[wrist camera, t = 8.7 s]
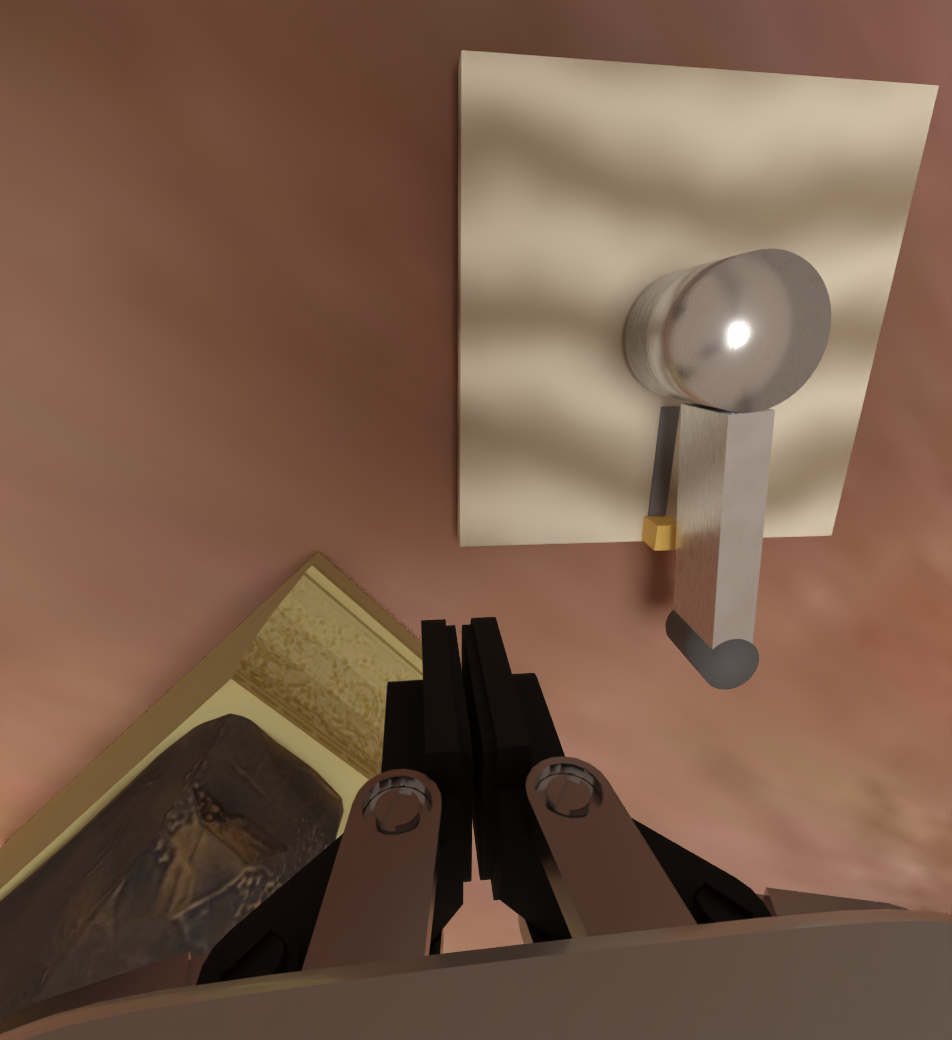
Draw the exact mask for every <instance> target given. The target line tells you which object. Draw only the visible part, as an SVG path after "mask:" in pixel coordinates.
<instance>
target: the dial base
mask: <svg viewBox="0 0 952 1040" xmlns="http://www.w3.org/2000/svg"><path fill="white" fill-rule="evenodd" d="M938 87H939V86H937V85H924V84H910V83H897V82H883V81H870V80H856V79H843V78H829V77H816V76H802V75H789V74H775V73H762V72H749V71H735V70H722V69H708V68H695V67H681V66H668V65H654V64H641V63H627V62H614V61H600V60H587V59H573V58H560V57H546V56H533V55H520V54H506V53H493V52H479V51H466V50H461V55H460V61H459V67H458V541H459V545H460V547H464V546H497V545H530V544H564V543H597V542H630V541H644V542H645V543H646V544H647V545H648V546H650V547H651V548H652V549H653V550H654V551H661V550H676V526H677V500H678V475H679V449H680V423H681V404H685V403H692V402H687V401H683V400H678V399H674V398H669V397H665V396H661V395H658V394H656V393H654V392H652V391H650V390H649V389H647V388H646V387H645V386H644V385H642V384H641V383H640V382H639V380H638V379H637V378H636V377H635V375H634V373H633V372H632V370H631V368H630V366H629V363H628V360H627V356H626V350H625V333H626V327H627V323H628V319H629V316H630V314H631V311H632V309H633V307H634V305H635V304H636V302H637V300H638V299H639V297H640V296H641V295H642V293H643V292H644V291H645V290H646V289H647V288H648V287H649V286H650V285H651V284H653V283H654V282H655V281H656V280H658V279H659V278H661V277H663V276H664V275H667V274H669V273H671V272H674V271H678V270H681V269H685V268H689V267H693V266H697V265H700V264H704V263H708V262H712V261H716V260H720V259H724V258H727V257H731V256H735V255H739V254H743V253H747V252H751V251H754V250H760V249H781V250H786V251H789V252H792V253H795V254H797V255H799V256H800V257H802V258H804V259H805V260H806V261H808V262H809V263H810V264H811V265H812V266H813V267H814V268H815V269H816V270H817V272H818V273H819V275H820V276H821V278H822V279H823V281H824V284H825V286H826V288H827V291H828V294H829V298H830V304H831V329H830V335H829V339H828V343H827V346H826V349H825V352H824V354H823V357H822V359H821V361H820V363H819V364H818V366H817V368H816V370H815V371H814V373H813V374H812V375H811V377H810V378H809V379H808V380H807V382H806V383H805V384H804V385H803V386H802V387H801V388H800V389H799V390H798V391H797V392H796V393H795V394H793V395H792V396H791V397H789V398H788V399H786V400H785V401H783V402H782V403H780V404H778V405H776V406H774V407H771V408H769V409H773V410H775V416H774V427H773V437H772V447H771V458H770V468H769V479H768V489H767V499H766V510H765V520H764V530H763V537H796V536H830V535H832V531H833V527H834V522H835V518H836V514H837V510H838V506H839V502H840V497H841V493H842V489H843V485H844V481H845V476H846V472H847V468H848V464H849V460H850V456H851V451H852V447H853V443H854V439H855V435H856V430H857V426H858V422H859V418H860V414H861V410H862V405H863V401H864V397H865V393H866V389H867V384H868V380H869V376H870V372H871V368H872V363H873V359H874V355H875V351H876V347H877V343H878V338H879V334H880V330H881V326H882V322H883V317H884V313H885V309H886V305H887V301H888V297H889V292H890V288H891V284H892V280H893V276H894V271H895V267H896V263H897V259H898V255H899V251H900V246H901V242H902V238H903V234H904V230H905V225H906V221H907V217H908V213H909V209H910V204H911V200H912V196H913V192H914V188H915V184H916V179H917V175H918V171H919V167H920V163H921V158H922V154H923V150H924V146H925V142H926V138H927V133H928V129H929V125H930V121H931V117H932V112H933V108H934V104H935V100H936V96H937V92H938Z"/></svg>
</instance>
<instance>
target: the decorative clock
mask: <svg viewBox="0 0 952 1040" xmlns="http://www.w3.org/2000/svg"><path fill="white" fill-rule="evenodd" d="M407 680H423V665H422V643H421V642H420V641H419V640H418V639H417V638H416V637H415V636H413V635H412V634H411V633H410V632H409V631H408V630H407V629H405V628H404V627H403V626H402V625H401V624H400V623H399V622H397V621H396V620H395V619H394V618H393V617H392V616H391V615H390V614H388V613H387V612H386V611H385V610H384V609H383V608H382V607H380V606H379V605H378V604H377V603H376V602H375V601H374V600H372V599H371V598H370V597H369V596H368V595H367V594H366V593H364V592H363V591H362V590H361V589H360V588H359V587H358V586H357V585H355V584H354V583H353V582H352V581H351V580H350V579H349V578H347V577H346V576H345V575H344V574H343V573H342V572H341V571H339V570H338V569H337V568H336V567H335V566H334V565H333V564H331V563H330V562H329V561H328V560H327V559H326V558H325V557H324V556H322V555H321V554H320V553H319V552H318V553H316V554H315V555H314V556H313V557H312V558H311V559H310V560H309V561H308V562H307V563H306V564H305V565H304V566H302V567H301V568H300V569H299V570H298V571H297V572H296V573H295V574H294V575H293V576H292V577H291V578H290V579H288V580H287V581H286V582H285V583H284V584H283V585H282V586H281V587H280V588H279V589H278V590H277V591H276V592H274V593H273V594H272V595H271V596H270V597H269V598H268V599H267V600H266V601H265V602H264V603H263V604H262V605H260V606H259V607H258V608H257V609H256V610H255V611H254V612H253V613H252V614H251V615H250V616H249V617H248V618H246V619H245V620H244V621H243V622H242V623H241V624H240V625H239V626H238V627H237V628H236V629H235V630H234V631H233V632H231V633H230V634H229V635H228V636H227V637H226V638H225V639H224V640H223V641H222V642H221V643H220V644H219V645H217V646H216V647H215V648H214V649H213V650H212V651H211V652H210V653H209V654H208V655H207V656H206V657H205V658H203V659H202V660H201V661H200V662H199V663H198V664H197V665H196V666H195V667H194V668H193V669H192V670H191V671H189V672H188V673H187V674H186V675H185V676H184V677H183V678H182V679H181V680H180V681H179V682H178V683H177V684H175V685H174V686H173V687H172V688H171V689H170V690H169V691H168V692H167V693H166V694H165V695H164V696H163V697H161V698H160V699H159V700H158V701H157V702H156V703H155V704H154V705H153V706H152V707H151V708H150V709H149V710H147V711H146V712H145V713H144V714H143V715H142V716H141V717H140V718H139V719H138V720H137V721H136V722H135V723H133V724H132V725H131V726H130V727H129V728H128V729H127V730H126V731H125V732H124V733H123V734H122V735H121V736H120V737H118V738H117V739H116V740H115V741H114V742H113V743H112V744H111V745H110V746H109V747H108V748H107V749H106V750H104V751H103V752H102V753H101V754H100V755H99V756H98V757H97V758H96V759H95V760H94V761H93V762H92V763H90V764H89V765H88V766H87V767H86V768H85V769H84V770H83V771H82V772H81V773H80V774H79V775H78V776H76V777H75V778H74V779H73V780H72V781H71V782H70V783H69V784H68V785H67V786H66V787H65V788H64V789H62V790H61V791H60V792H59V793H58V794H57V795H56V796H55V797H54V798H53V799H52V800H51V801H50V802H48V803H47V804H46V805H45V806H44V807H43V808H42V809H41V810H40V811H39V812H38V813H37V814H36V815H34V816H33V817H32V818H31V819H30V820H29V821H28V822H27V823H26V824H25V825H24V826H23V827H22V828H21V829H19V830H18V831H17V832H16V833H15V834H14V835H13V836H12V837H11V838H10V839H9V840H8V841H7V842H5V843H4V845H3V846H2V847H1V848H0V1024H1V1023H2V1022H3V1021H5V1020H6V1019H7V1018H8V1017H10V1016H11V1015H12V1014H14V1013H16V1012H18V1011H20V1010H22V1009H24V1008H26V1007H28V1006H30V1005H32V1004H34V1003H36V1002H39V1001H42V1000H45V999H48V998H51V997H54V996H57V995H60V994H63V993H66V992H69V991H72V990H75V989H78V988H81V987H84V986H87V985H90V984H93V983H96V982H99V981H102V980H105V979H108V978H111V977H113V976H116V975H119V974H122V973H125V972H128V971H131V970H134V969H137V968H140V967H143V966H146V965H149V964H152V963H155V962H158V961H161V960H164V959H167V958H170V957H173V956H176V955H179V954H182V953H185V952H188V951H189V952H190V956H191V959H193V958H196V957H199V956H202V955H204V954H207V953H210V952H211V950H212V949H213V947H214V946H215V945H216V944H217V943H218V942H219V941H220V940H221V939H222V938H223V937H224V936H225V935H226V934H227V933H228V932H229V931H230V930H231V929H232V928H233V927H234V926H236V925H237V924H238V923H239V922H240V921H241V920H243V919H244V918H245V917H246V916H247V915H248V914H250V913H251V912H252V911H253V910H254V909H255V908H257V907H258V906H259V905H260V904H261V903H262V902H264V901H265V900H266V899H267V898H268V897H269V896H271V895H272V894H273V893H274V892H275V891H276V890H278V889H279V888H280V887H281V886H282V885H283V884H285V883H286V882H287V881H288V880H289V879H290V878H292V877H293V876H294V875H295V874H296V873H297V872H299V871H300V870H301V869H302V868H303V867H304V866H306V865H307V864H308V863H309V862H310V861H311V860H313V859H314V858H315V857H316V856H317V855H318V854H320V853H321V852H322V851H323V850H324V849H325V848H327V847H328V846H329V845H330V844H331V843H332V842H334V841H335V840H336V839H337V838H338V837H339V836H340V835H342V834H343V833H344V829H345V826H346V823H347V819H348V816H349V813H350V810H351V806H352V803H353V800H354V798H355V796H356V794H357V792H358V790H359V789H360V788H361V787H362V786H363V785H364V784H365V783H366V782H367V781H368V780H370V779H372V778H373V777H375V776H376V775H378V774H380V773H381V766H382V751H383V737H384V722H385V708H386V693H387V683H388V682H390V681H407Z"/></svg>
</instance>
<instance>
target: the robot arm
mask: <svg viewBox="0 0 952 1040" xmlns="http://www.w3.org/2000/svg"><path fill="white" fill-rule="evenodd" d="M421 628H422V665H423V680H407V681H390V682H388V683H387V693H386V708H385V722H384V737H383V751H382V766H381V773H380V774H378V775H376V776H375V777H373V778H372V779H370V780H368V781H367V782H366V783H365V784H364V785H363V786H362V787H361V788H360V789H359V790H358V792H357V794H356V796H355V798H354V800H353V803H352V806H351V810H350V813H349V816H348V819H347V823H346V826H345V829H344V833H343V834H342V835H340V836H339V837H338V838H337V839H336V840H335V841H334V842H332V843H331V844H330V845H329V846H328V847H327V848H325V849H324V850H323V851H322V852H321V853H320V854H318V855H317V856H316V857H315V858H314V859H313V860H311V861H310V862H309V863H308V864H307V865H306V866H304V867H303V868H302V869H301V870H300V871H299V872H297V873H296V874H295V875H294V876H293V877H292V878H290V879H289V880H288V881H287V882H286V883H285V884H283V885H282V886H281V887H280V888H279V889H278V890H276V891H275V892H274V893H273V894H272V895H271V896H269V897H268V898H267V899H266V900H265V901H264V902H262V903H261V904H260V905H259V906H258V907H257V908H255V909H254V910H253V911H252V912H251V913H250V914H248V915H247V916H246V917H245V918H244V919H243V920H241V921H240V922H239V923H238V924H237V925H236V926H234V927H233V928H232V929H231V930H230V931H229V932H228V933H227V934H226V935H225V936H224V937H223V938H222V939H221V940H220V941H219V942H218V943H217V944H216V945H215V946H214V947H213V949H212V950H211V952H210V953H207V954H204V955H202V956H199V957H196V958H193V959H191V956H190V952H189V951H188V952H185V953H182V954H179V955H176V956H173V957H170V958H167V959H164V960H161V961H158V962H155V963H152V964H149V965H146V966H143V967H140V968H137V969H134V970H131V971H128V972H125V973H122V974H119V975H116V976H113V977H111V978H108V979H105V980H102V981H99V982H96V983H93V984H90V985H87V986H84V987H81V988H78V989H75V990H72V991H69V992H66V993H63V994H60V995H57V996H54V997H51V998H48V999H45V1000H42V1001H39V1002H36V1003H34V1004H32V1005H30V1006H28V1007H26V1008H24V1009H22V1010H20V1011H18V1012H16V1013H14V1014H12V1015H11V1016H10V1017H8V1018H7V1019H6V1020H5V1021H3V1022H2V1023H1V1024H0V1040H952V915H949V914H943V913H936V912H929V911H912V910H908V909H906V908H903V907H899V906H896V905H892V904H889V903H882V902H875V901H867V900H859V899H851V898H844V897H836V896H828V895H821V894H813V893H805V892H797V891H790V890H782V889H774V888H767V887H766V890H765V893H764V895H760V894H755V893H754V892H753V890H752V889H751V888H749V887H748V886H746V885H745V884H744V883H742V882H741V881H739V880H738V879H737V878H735V877H733V876H732V875H730V874H728V873H726V872H725V871H723V870H721V869H719V868H718V867H716V866H714V865H712V864H711V863H709V862H707V861H706V860H704V859H702V858H700V857H699V856H697V855H695V854H693V853H692V852H690V851H688V850H686V849H685V848H683V847H681V846H679V845H678V844H676V843H674V842H672V841H671V840H669V839H667V838H665V837H664V836H662V835H660V834H658V833H657V832H655V831H653V830H651V829H650V828H648V827H646V826H645V825H643V824H641V823H639V822H638V821H636V820H634V819H632V818H631V817H630V815H629V814H628V812H627V810H626V809H625V807H624V806H623V804H622V802H621V801H620V799H619V798H618V796H617V794H616V793H615V791H614V790H613V788H612V786H611V785H610V783H609V782H608V780H607V779H606V778H605V777H604V775H603V774H602V773H601V772H600V771H599V770H598V769H596V768H595V767H594V766H592V765H591V764H589V763H587V762H584V761H582V760H580V759H577V758H571V757H565V755H564V752H563V749H562V747H561V744H560V741H559V738H558V735H557V733H556V730H555V727H554V724H553V721H552V718H551V716H550V713H549V710H548V707H547V704H546V702H545V699H544V696H543V693H542V690H541V688H540V685H539V682H538V679H537V677H536V675H535V674H534V673H524V674H512V673H511V669H510V666H509V662H508V659H507V655H506V652H505V648H504V645H503V641H502V638H501V634H500V631H499V628H498V624H497V621H496V618H495V617H484V618H471V625H462V671H461V664H460V657H459V650H458V643H457V636H456V629H455V625H451V626H446V621H445V619H443V620H422V621H421ZM472 820H473V828H474V836H475V844H476V852H477V860H478V868H479V876H480V880H489V879H491V885H492V892H493V899H494V900H501V901H502V902H503V903H505V904H506V905H507V906H509V907H510V908H511V909H512V910H514V911H515V912H516V913H517V914H518V921H519V927H520V932H521V936H522V939H523V942H524V944H522V945H513V946H505V947H496V948H488V949H479V950H471V951H462V952H453V953H445V954H442V953H443V942H444V933H443V928H444V927H445V925H446V924H447V923H448V922H449V921H450V919H451V918H452V917H453V916H454V914H455V913H456V912H457V911H458V909H459V908H460V907H461V906H462V905H463V882H469V881H471V872H472Z"/></svg>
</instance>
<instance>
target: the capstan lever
mask: <svg viewBox="0 0 952 1040" xmlns="http://www.w3.org/2000/svg"><path fill="white" fill-rule="evenodd" d="M830 329H831V304H830V298H829V294H828V291H827V288H826V286H825V284H824V281H823V279H822V278H821V276H820V275H819V273H818V272H817V270H816V269H815V268H814V267H813V266H812V265H811V264H810V263H809V262H808V261H806V260H805V259H804V258H802V257H800V256H799V255H797V254H795V253H792V252H789V251H786V250H781V249H760V250H754V251H751V252H747V253H743V254H739V255H735V256H731V257H727V258H724V259H720V260H716V261H712V262H708V263H704V264H700V265H697V266H693V267H689V268H685V269H681V270H678V271H674V272H671V273H669V274H667V275H664V276H663V277H661V278H659V279H658V280H656V281H655V282H654V283H653V284H651V285H650V286H649V287H648V288H647V289H646V290H645V291H644V292H643V293H642V295H641V296H640V297H639V299H638V300H637V302H636V304H635V305H634V307H633V309H632V311H631V314H630V316H629V319H628V323H627V327H626V333H625V350H626V356H627V360H628V363H629V366H630V368H631V370H632V372H633V373H634V375H635V377H636V378H637V379H638V380H639V382H640V383H641V384H642V385H644V386H645V387H646V388H647V389H649V390H650V391H652V392H654V393H656V394H658V395H661V396H665V397H669V398H674V399H678V400H683V401H687V402H692V403H685V404H681V423H680V449H679V475H678V500H677V526H676V551H675V577H674V603H673V610H672V612H671V613H670V614H669V616H668V618H667V621H666V633H667V635H668V637H669V638H670V640H671V641H672V642H673V643H674V644H675V645H676V647H677V648H678V649H679V650H680V651H681V652H682V653H683V655H684V656H685V657H686V658H687V659H688V660H689V662H690V663H691V664H692V665H693V666H694V667H695V669H696V670H697V671H698V672H699V673H700V674H701V675H702V677H703V678H704V679H705V680H706V681H707V682H708V683H709V684H710V685H711V686H713V687H715V688H718V689H732V688H735V687H738V686H740V685H742V684H743V683H745V682H746V681H747V680H749V679H750V677H751V676H752V675H753V674H754V672H755V671H756V669H757V666H758V662H759V655H758V651H757V649H756V647H755V646H754V645H753V634H754V624H755V614H756V603H757V593H758V582H759V572H760V562H761V551H762V541H763V530H764V520H765V510H766V499H767V489H768V479H769V468H770V458H771V447H772V437H773V427H774V416H775V410H773V409H769V408H771V407H774V406H776V405H778V404H780V403H782V402H783V401H785V400H786V399H788V398H789V397H791V396H792V395H793V394H795V393H796V392H797V391H798V390H799V389H800V388H801V387H802V386H803V385H804V384H805V383H806V382H807V380H808V379H809V378H810V377H811V375H812V374H813V373H814V371H815V370H816V368H817V366H818V364H819V363H820V361H821V359H822V357H823V354H824V352H825V349H826V346H827V343H828V339H829V335H830Z"/></svg>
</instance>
